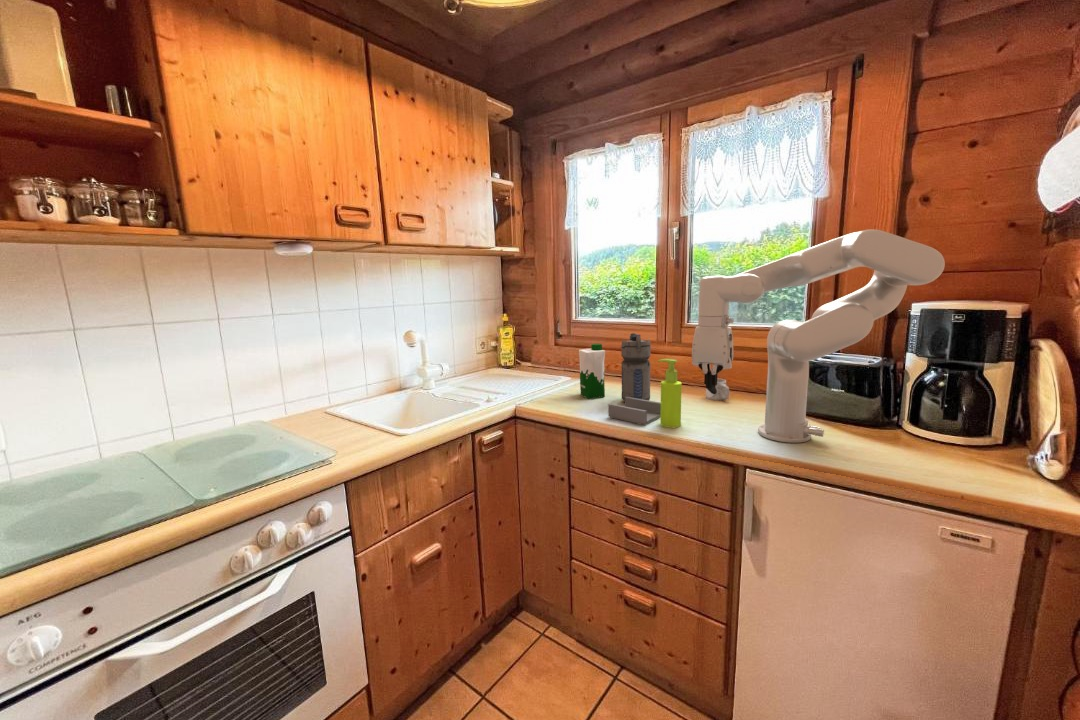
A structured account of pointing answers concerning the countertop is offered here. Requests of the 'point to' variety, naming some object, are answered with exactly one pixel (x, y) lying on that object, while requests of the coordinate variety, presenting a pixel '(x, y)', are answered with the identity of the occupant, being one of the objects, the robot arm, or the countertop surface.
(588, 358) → the soya milk
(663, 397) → the soap dispenser
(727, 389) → the mug
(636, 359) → the beverage bottle
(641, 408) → the cradle
